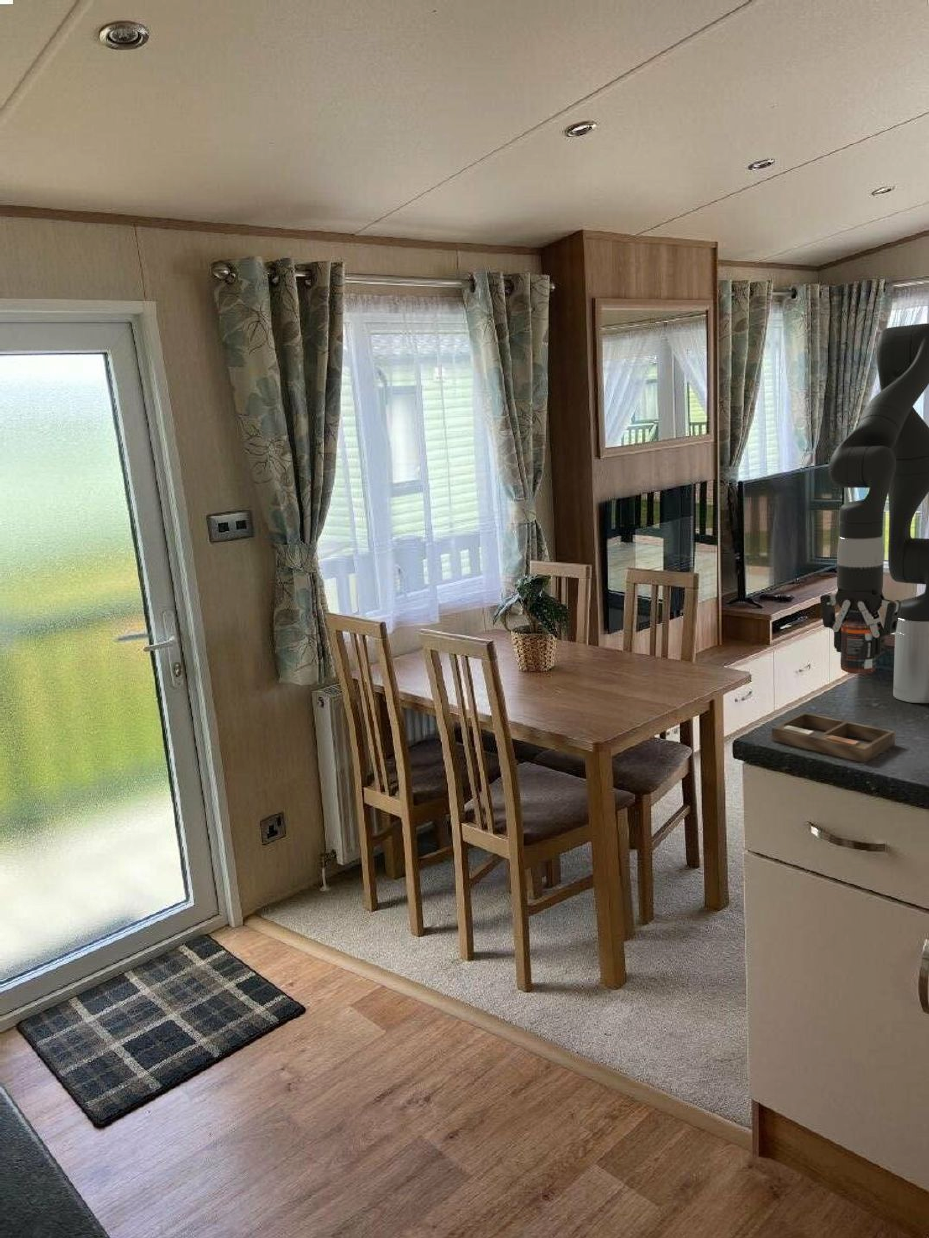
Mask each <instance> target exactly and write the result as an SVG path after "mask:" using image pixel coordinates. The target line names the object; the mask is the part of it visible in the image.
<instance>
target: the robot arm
mask: <svg viewBox="0 0 929 1238" xmlns="http://www.w3.org/2000/svg"><path fill="white" fill-rule="evenodd" d="M876 365H877V374H878V381H879V388H880V391H879V392H878V393H877V394H876V395H875V396H873V398H872V399H871V400H870V401H869V403H868V404H867V406H866V407H865V409H864V411H863V413H862V415H861V418H860V420H859V421H858V423H857V426H856V428H855V429H853V431H852V432H851V433H850V434H848V436H847V437H846V438H845V439H844V440H843V441H842V442H841V443H840V444H839V445H837V447H836V449H835V450H834V452H833V453H832V455H831V457H830V460H829V464H828V475H829V478H830V480H831V482H832V484H834V485H835V486H837V487H839V488H843V489H845V488H847V489H853V488H854V489H855V488H856V489H863V488H865V489H868V493H867V495H866V496H865V497H864V498H863V499H860V500H859V499H858V500H854V501H849V502H846V503H844V504H842V505H841V507H840V509H839V524H838V525H839V530H838V531H839V535H838V543H837V544H838V545H837V555H836V562H837V563H836V564H837V565H836V568H837V569H836V587H837V590H836V593H832V592H828V593H825V594H824V593H823V595H820V596H819V599H820V600H819V601H820V609H821V615H822V616H821V618H822V624H823V627H824V628H829V629H831V630H832V631H833V647H834V649H835V651H836V653H841V624H842V622H843V621H845V620H846V619H847V618H848V616H847V613H848V610H858V611H861V612H862V615H863V617H864V619H865V622H866V624H867V626H869V627H870V629H871V632H872V634H873V636H874V637H872V657H874V658H876V659H877V658H879V657H881V655H882V654H884V652H885V637H886V636H889V635H891V634H894V656H893V657H894V659H893V687H892V688H893V691H892V692H893V694H892V695H893V697H894V698H895V699H897V700H899V701H903V702H907V703H913V704H914V703H915V704H917V703H918V704H929V538H922V537H920V538H919V537H912V534H911V529H912V522H913V519H914V516H915V514H916V512H917V510H918V508H919V507H920V505H921V504H922V502H923V501H924V500H925V498H926V497H927V495H928V494H929V426H928V424H927V423H926V421H925V420H924V419H923V418H922V417H921V415H920V414H919V412H917V409H915V407H914V405H915V404H916V403H917V401H918V400H919V398H920V397H921V396H922V394H923V393H924V392H925V390H926V389H927V387H929V322H928V323H917V324H910V325H909V324H908V325H900V326H891V327H887V328H884V329H883V330H881V332H880V333H879V335H878V338H877V343H876ZM887 498H888V548H887V549H888V551H887V554H888V555H887V558H888V559H887V561H888V562H887V563H888V570H889V574H890V577H891V579H892V580H893V581H894V582H897V583H905V584H912V585H913V584H916V585H925V589H924V593H922V594H920V595H916V596H914V597H909V598H905V599H901V600H899V599H895V600H890V599H886V598H885V596H884V595H883V587H884V565H885V564H884V562H885V561H884V559H885V558H884V557H885V547H884V535H883V534H884V533H883V531H884V528H883V527H884V512H885V506H886V502H887ZM836 603H837V604H838V606H839V608H840V609H839V611H838V614H837V616H836V610H835V605H836ZM882 607H883V611H884V612H885V617H884V621H883V617H882V615H881V613H880V609H881V608H882ZM883 622H884V623H883Z"/></svg>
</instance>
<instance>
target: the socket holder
mask: <svg viewBox="0 0 929 1238" xmlns="http://www.w3.org/2000/svg"><path fill="white" fill-rule="evenodd" d="M804 727H808V728H811V729H817V730H821V731H823V733H821V732H817V731H814V730H809V729H805V728H804ZM824 731H825V732H824ZM845 737H854V738H857V739H861V740H867V741H871V742H869V743H865V742H864V743H863V742H860V741H859V740H854V739H851V738H845ZM895 740H896V731H894V730H889V729H886V728H881V727H876V726H875V727H874V726H869V725H866V724H862V723H856V722H851V721H845V720H841V719H837V718H832V717H827V716H822V715H818V714H812V713H809V712H801V713H799V714H797V715H795V716H793V717H791V718H789V719H786V720H784V721H782V722H781V723H779V724H777V725H775V726H773V727H771V741H773V742H776V743H780V744H781V743H782V744H784V745H785V744H786V745H790V746H794V747H799V748H801V749H802V748H803V749H805V750H811V751H815V752H819V753H821V754H822V753H823V754H826V753H827V754H826V755H832V756H834V757H835V756H836V757H840V758H843V759H847V760H851V761H854V762H855V761H856V762H859V763H863V764H865V763H867V762H868V761H870V760H871V759H874V757H876V756H878V755H880V754H881V753H883V752H885V751H887V750H888V749H890V748H891V747H893V746H895V744H896V742H895Z"/></svg>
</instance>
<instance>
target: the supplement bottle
mask: <svg viewBox="0 0 929 1238" xmlns="http://www.w3.org/2000/svg"><path fill="white" fill-rule="evenodd" d="M847 616H848V618H847V619H846V620H845V621H843V622H842V624H841V652H840V658H839V659H840V663H839V664H840V669H841V670H842V671H843V672H845V673H848V674H855V675H865V674H866V675H867V674H871V673H873V672H875V671H876V669H877V658H874V657H872V637H874V636H873V634H872V632H871V629H870V627H869V626H867V624H866V622H865V619H864V617H863V615H862V612H861V611H858V610H848V613H847Z"/></svg>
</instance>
